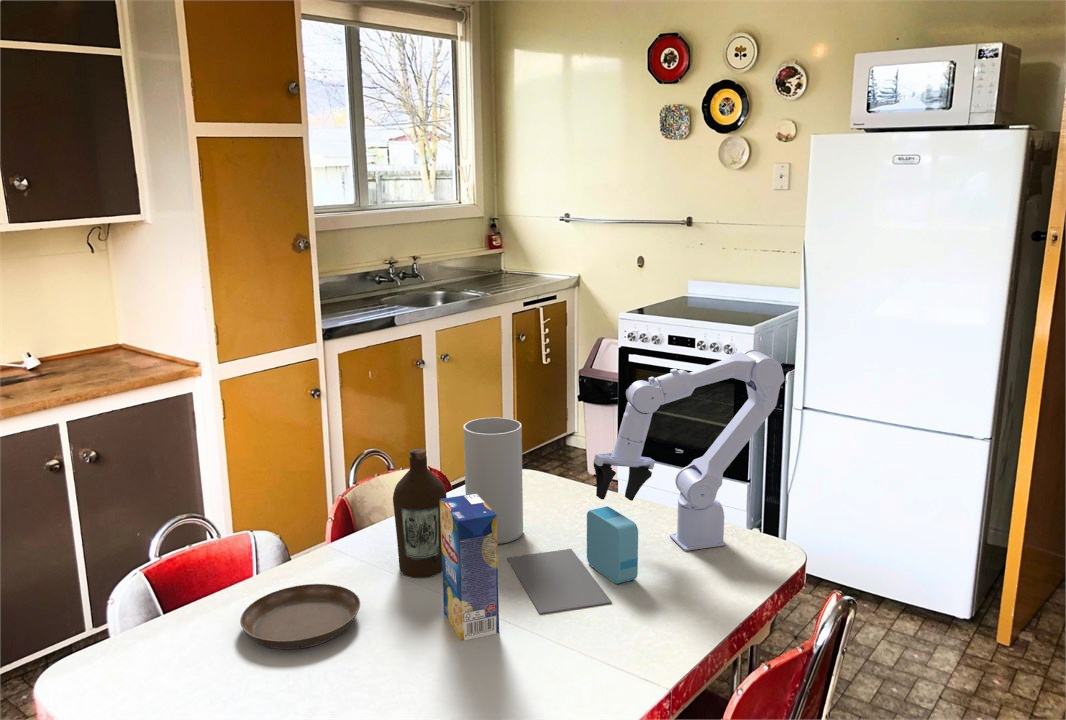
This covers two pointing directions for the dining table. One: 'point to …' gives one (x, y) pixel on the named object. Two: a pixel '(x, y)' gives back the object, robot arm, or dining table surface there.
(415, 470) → the olive oil
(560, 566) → the mat
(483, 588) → the beverage box
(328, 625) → the plant saucer
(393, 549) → the dining table surface
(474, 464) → the cylinder vase
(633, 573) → the data package
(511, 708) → the dining table surface
